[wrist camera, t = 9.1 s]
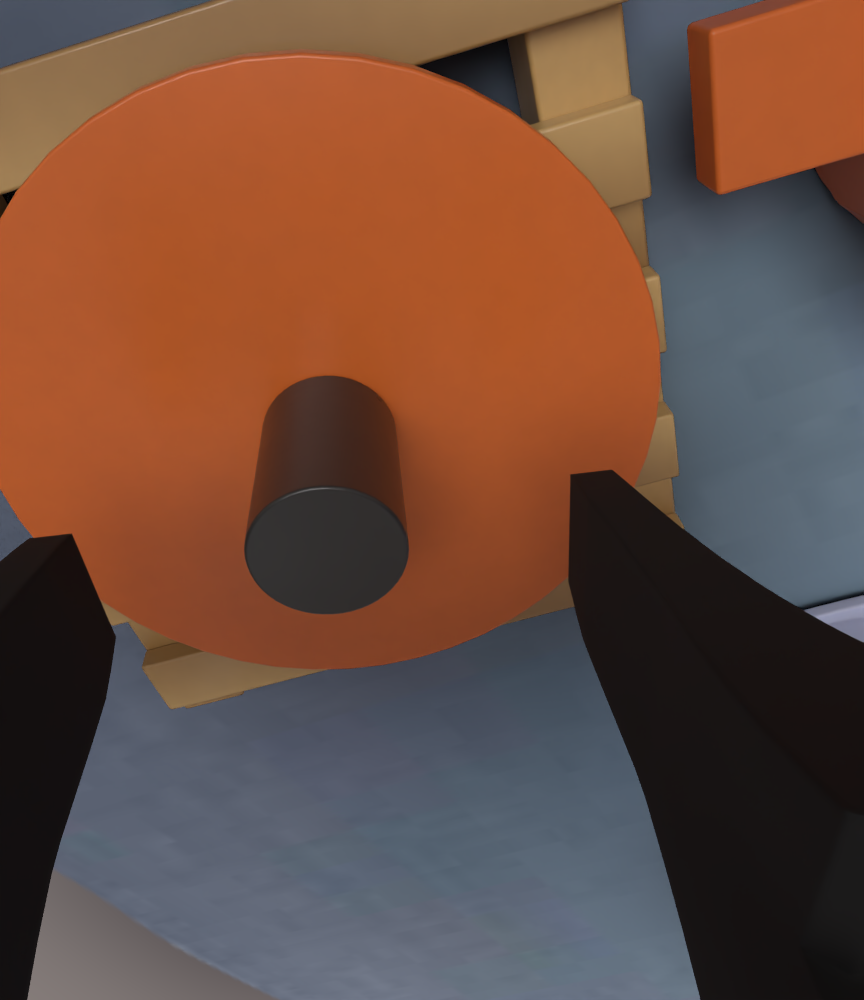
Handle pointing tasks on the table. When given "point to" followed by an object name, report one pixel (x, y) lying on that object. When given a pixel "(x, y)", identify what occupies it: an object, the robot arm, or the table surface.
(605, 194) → the rack
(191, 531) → the lid
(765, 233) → the table surface
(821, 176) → the pot
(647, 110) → the table surface
